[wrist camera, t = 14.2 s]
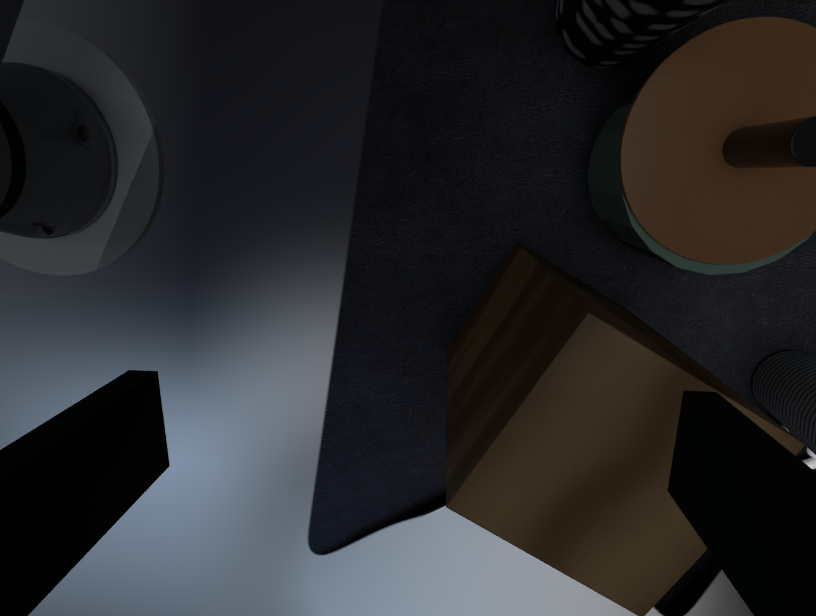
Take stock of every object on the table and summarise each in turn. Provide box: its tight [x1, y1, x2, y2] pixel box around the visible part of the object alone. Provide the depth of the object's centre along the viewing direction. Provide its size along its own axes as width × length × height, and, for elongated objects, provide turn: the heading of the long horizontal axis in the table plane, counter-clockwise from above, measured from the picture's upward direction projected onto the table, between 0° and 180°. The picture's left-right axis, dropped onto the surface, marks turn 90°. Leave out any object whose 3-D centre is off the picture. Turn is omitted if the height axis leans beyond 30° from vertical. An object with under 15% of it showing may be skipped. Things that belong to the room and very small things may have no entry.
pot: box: [588, 90, 812, 275], centre depth 39 cm, size 15×15×9 cm
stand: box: [446, 242, 805, 616], centre depth 36 cm, size 12×12×24 cm
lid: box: [618, 17, 816, 265], centre depth 30 cm, size 16×16×8 cm
